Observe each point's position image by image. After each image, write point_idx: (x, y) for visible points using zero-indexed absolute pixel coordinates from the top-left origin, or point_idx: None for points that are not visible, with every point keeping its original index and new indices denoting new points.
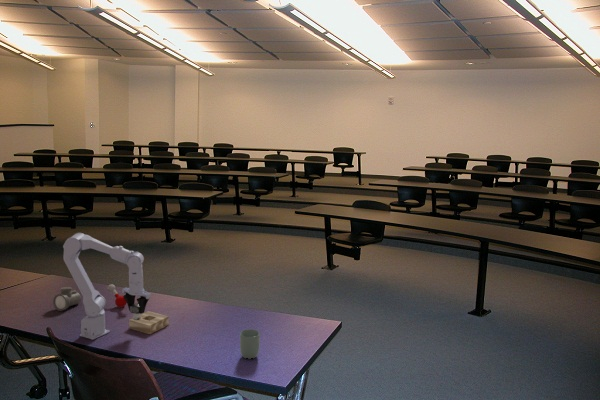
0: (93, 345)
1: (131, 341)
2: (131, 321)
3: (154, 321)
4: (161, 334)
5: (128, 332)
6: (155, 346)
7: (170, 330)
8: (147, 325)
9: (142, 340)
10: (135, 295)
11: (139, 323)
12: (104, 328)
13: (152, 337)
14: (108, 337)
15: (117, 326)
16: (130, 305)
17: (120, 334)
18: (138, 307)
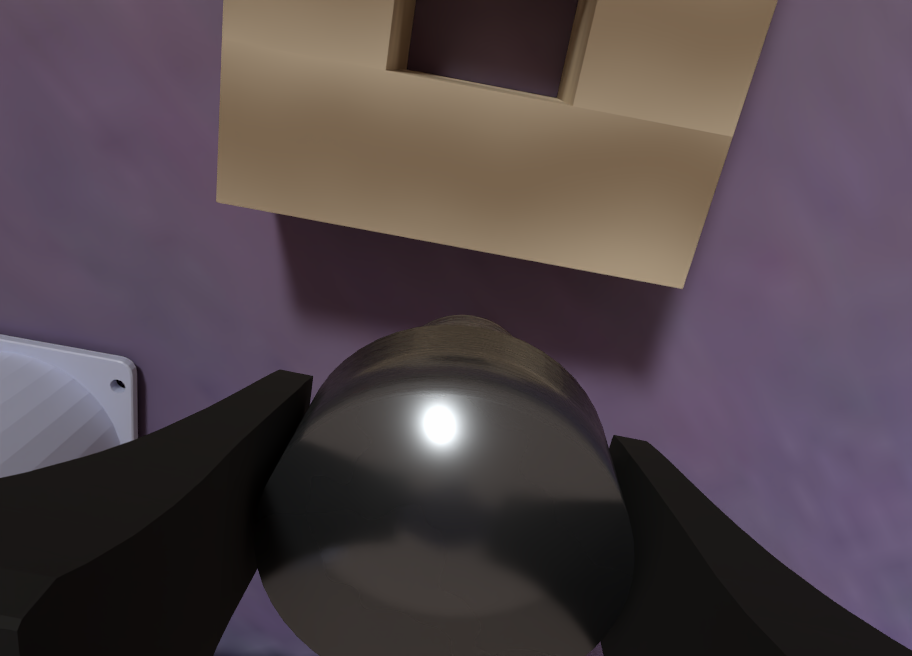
0: (236, 641)
1: None
2: (276, 207)
3: (682, 103)
4: (806, 195)
5: (343, 289)
6: (856, 503)
7: (898, 8)
8: (626, 274)
9: (638, 424)
10: (120, 562)
11: (453, 242)
12: (82, 454)
13: (721, 318)
14: None
15: (74, 172)
16: (279, 601)
17: (293, 369)
18: (576, 654)
